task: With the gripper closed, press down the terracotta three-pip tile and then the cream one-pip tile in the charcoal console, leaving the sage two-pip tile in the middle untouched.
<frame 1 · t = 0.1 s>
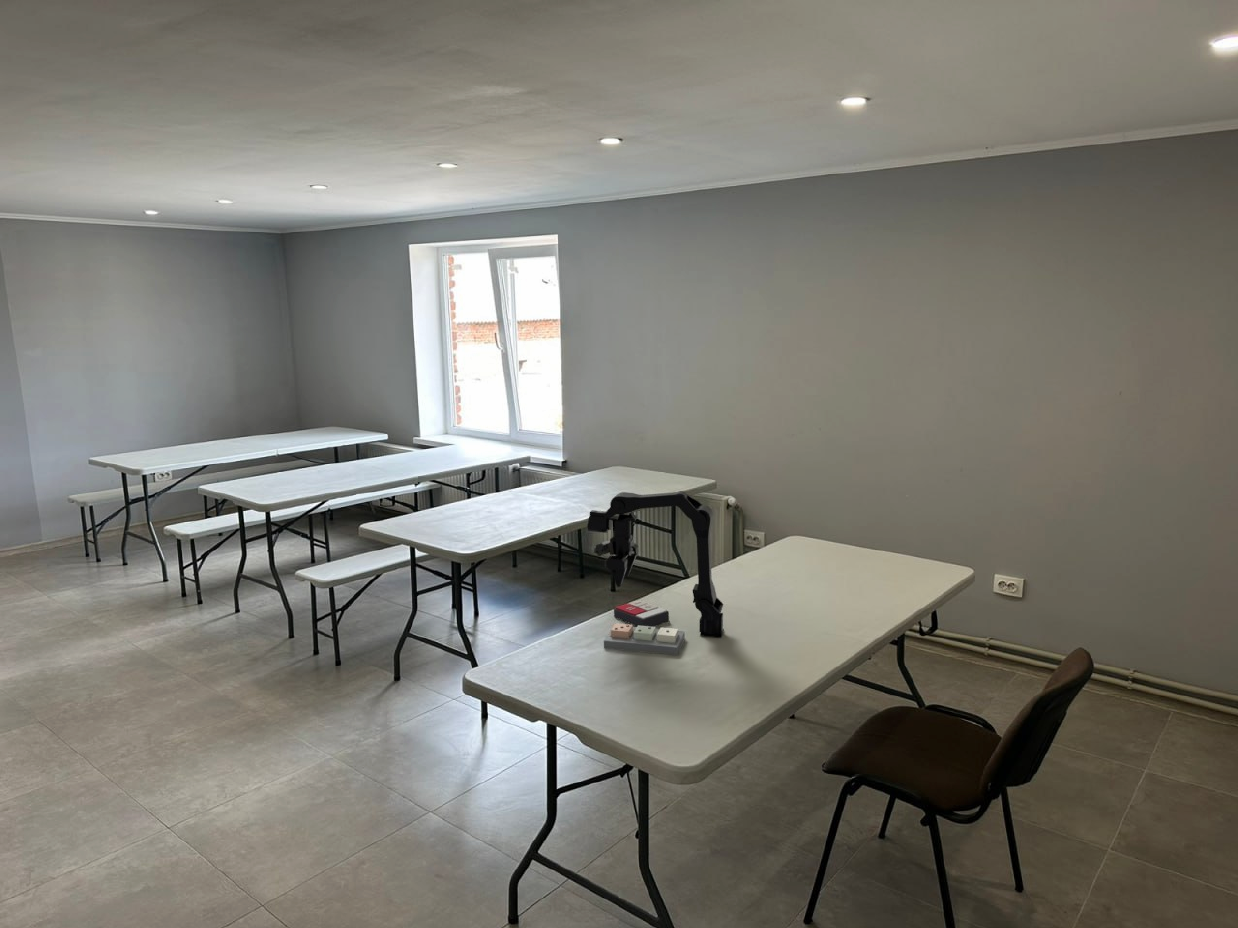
hand: (622, 581, 251), 15 cm above the table, fingers open, 9 cm apart
tile 2: (644, 633, 239), point 3 cm above the table, slide at 0.0 cm
console: (644, 643, 240), on the table
tile 1: (667, 635, 237), point 3 cm above the table, slide at 0.0 cm
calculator: (641, 620, 259), on the table
tile 3: (621, 631, 241), point 3 cm above the table, slide at 0.0 cm
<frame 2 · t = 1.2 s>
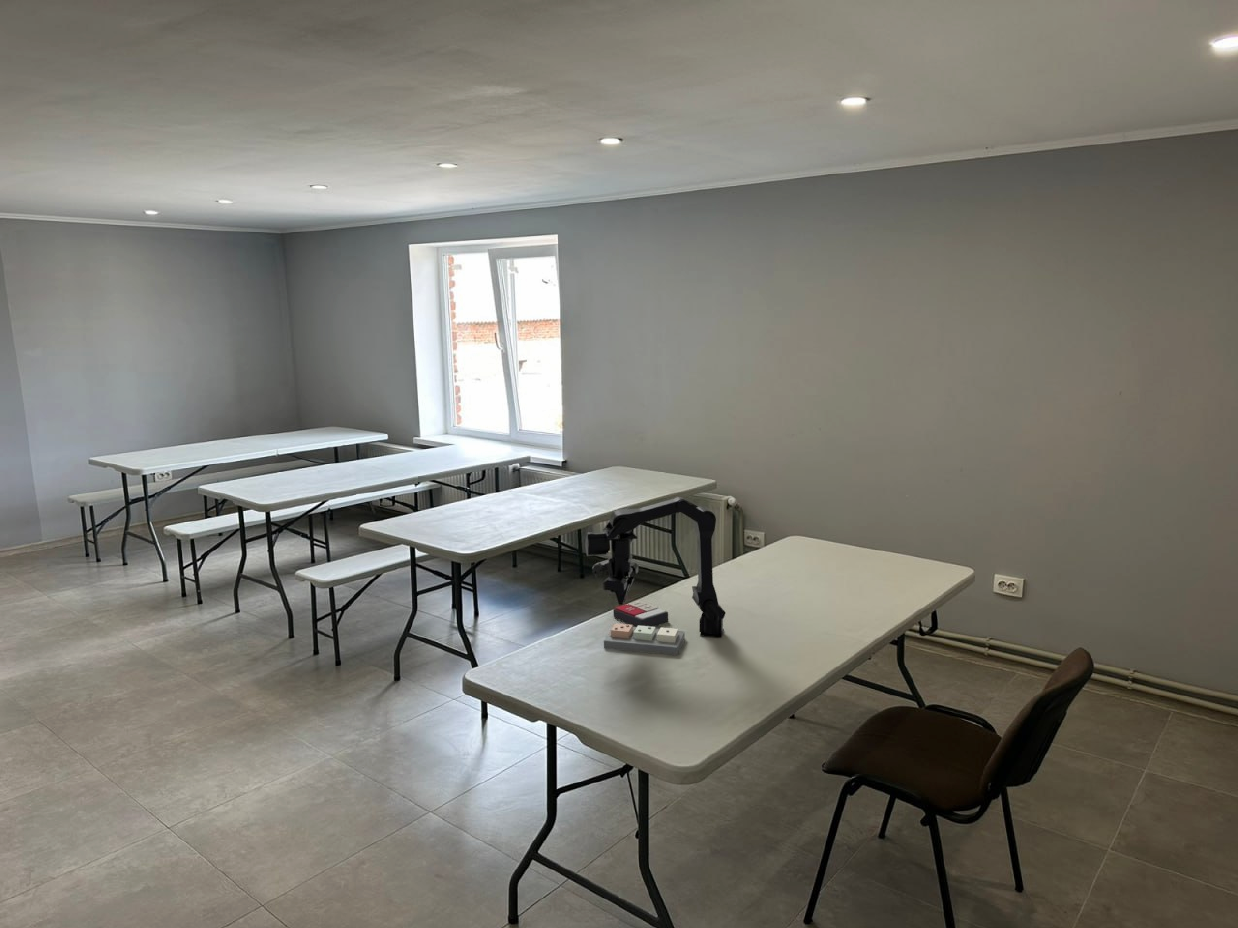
hand: (621, 603, 239), 12 cm above the table, fingers closed
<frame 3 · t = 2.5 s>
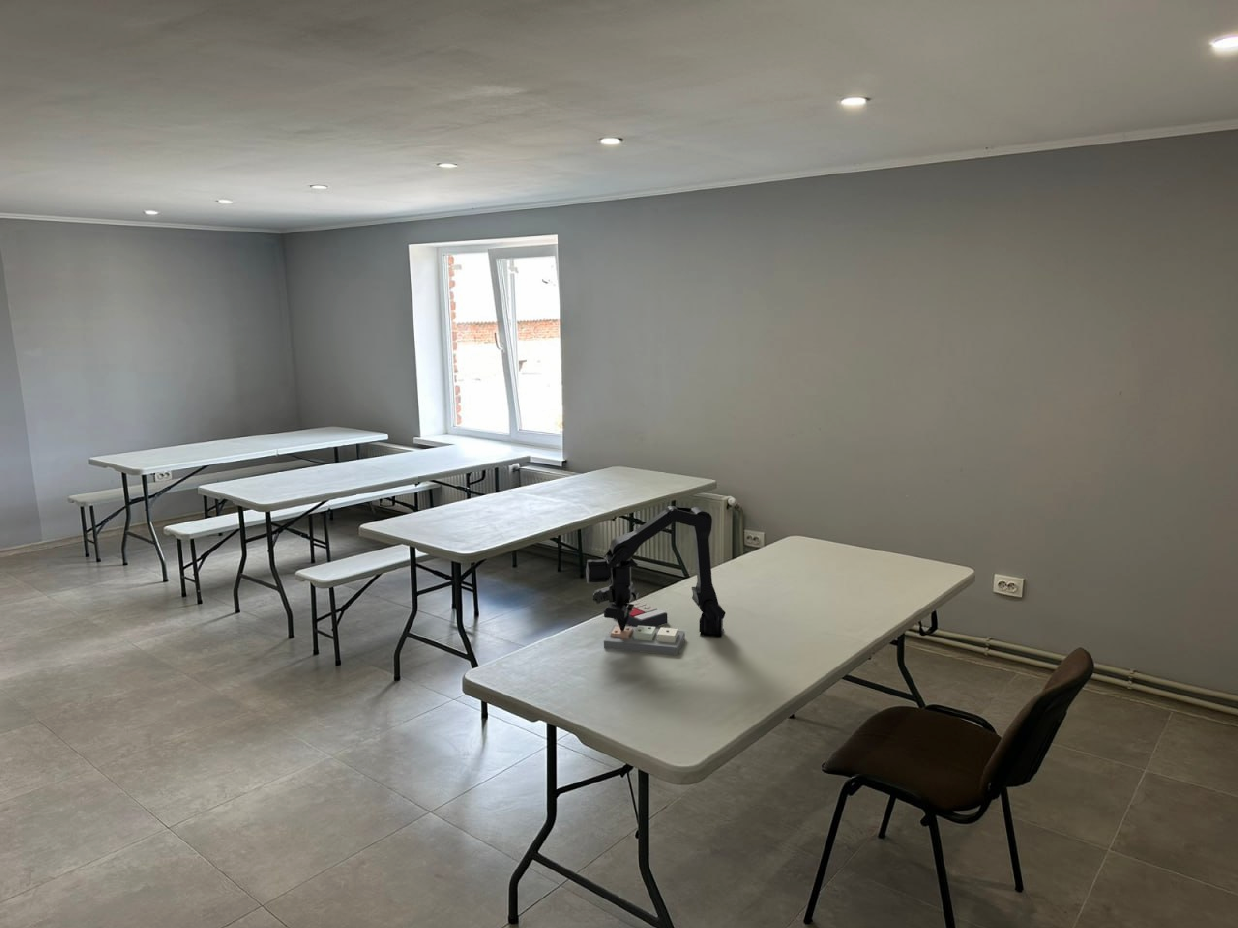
hand: (622, 629, 241), 4 cm above the table, fingers closed, pressing on tile 3
tile 3: (622, 634, 241), point 2 cm above the table, slide at 1.0 cm, touching gripper
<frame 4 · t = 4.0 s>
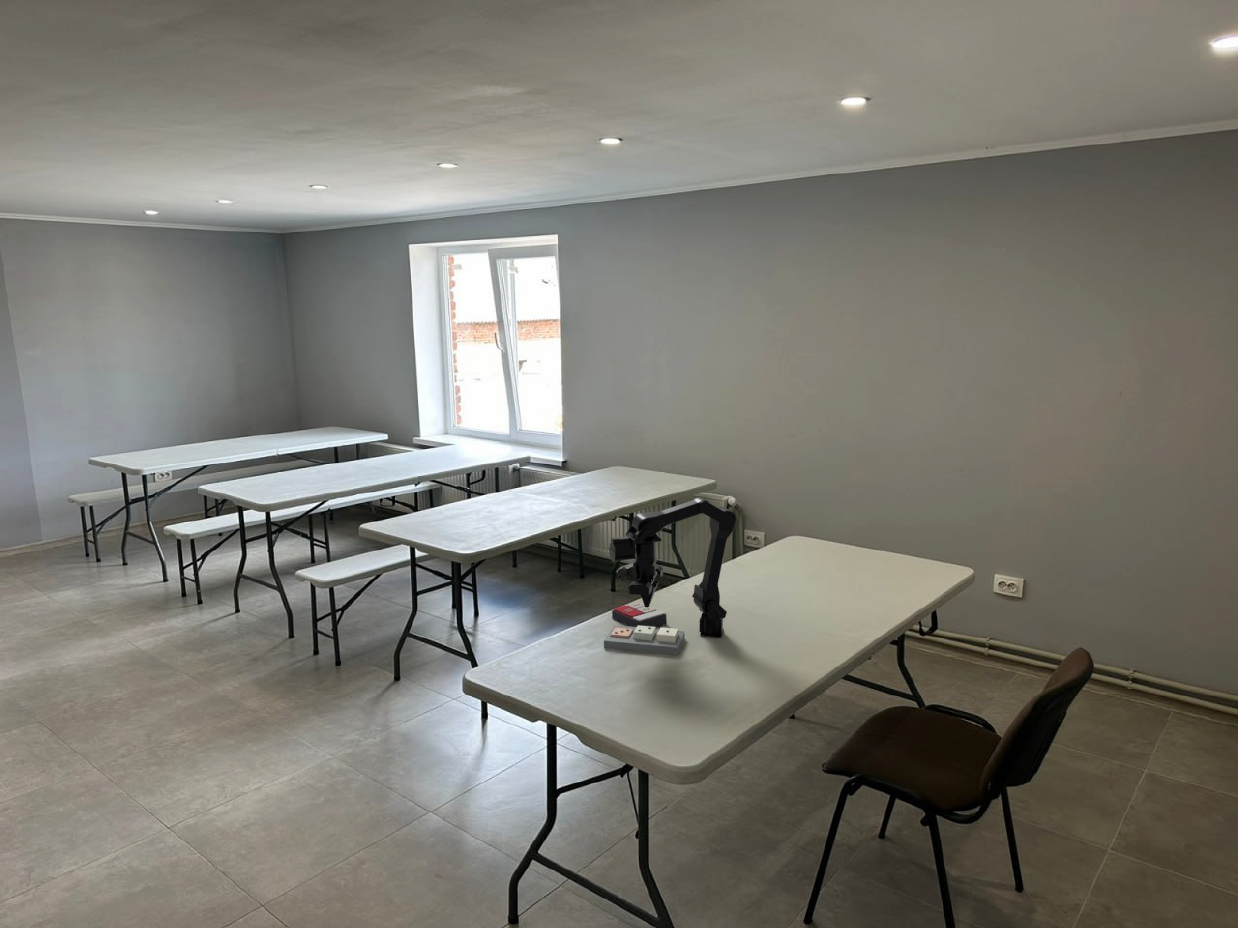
hand: (646, 606, 238), 11 cm above the table, fingers closed
tile 3: (622, 635, 241), point 2 cm above the table, slide at 1.3 cm
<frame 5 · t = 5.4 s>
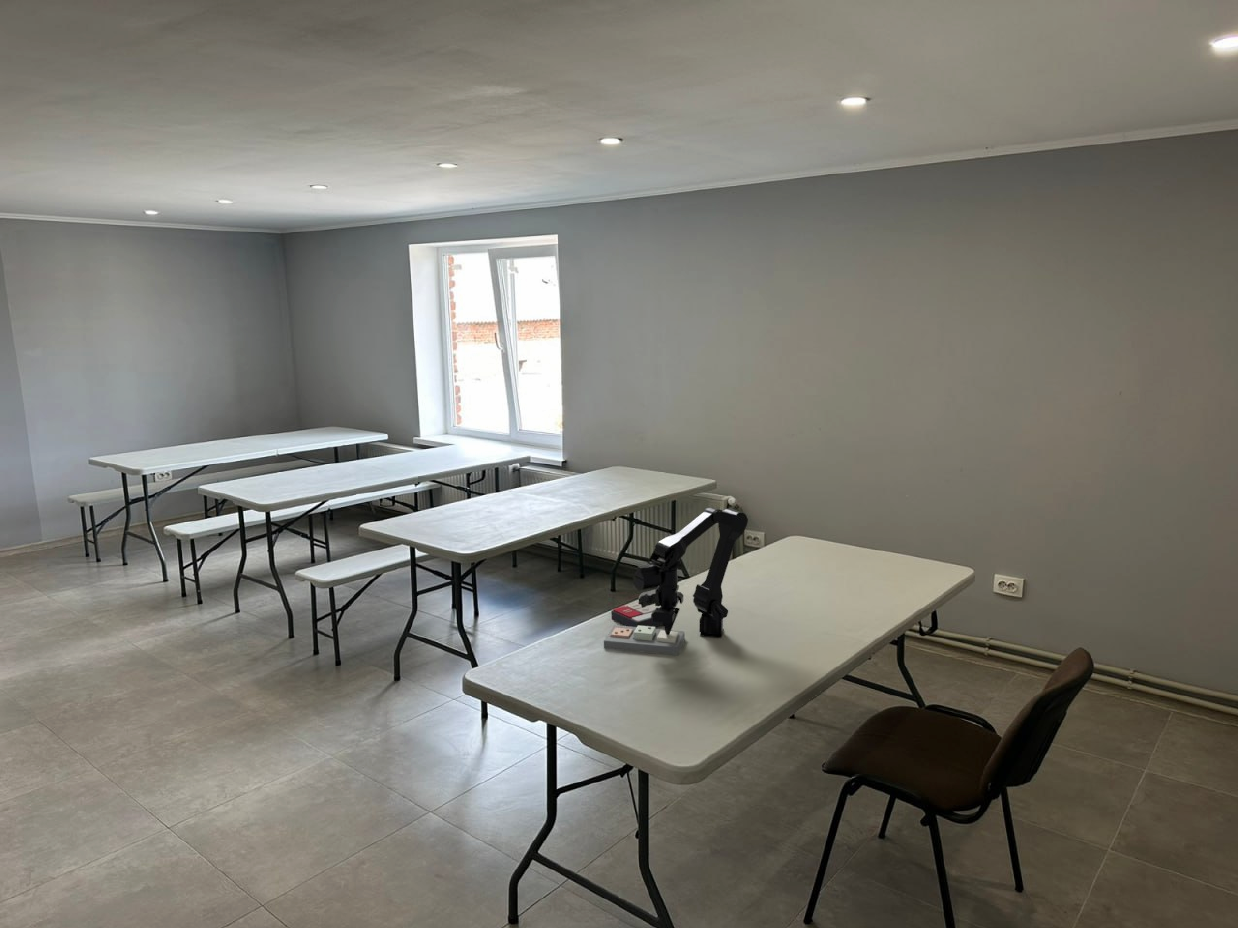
hand: (667, 633, 237), 4 cm above the table, fingers closed, pressing on tile 1
tile 1: (667, 638, 238), point 2 cm above the table, slide at 0.9 cm, touching gripper
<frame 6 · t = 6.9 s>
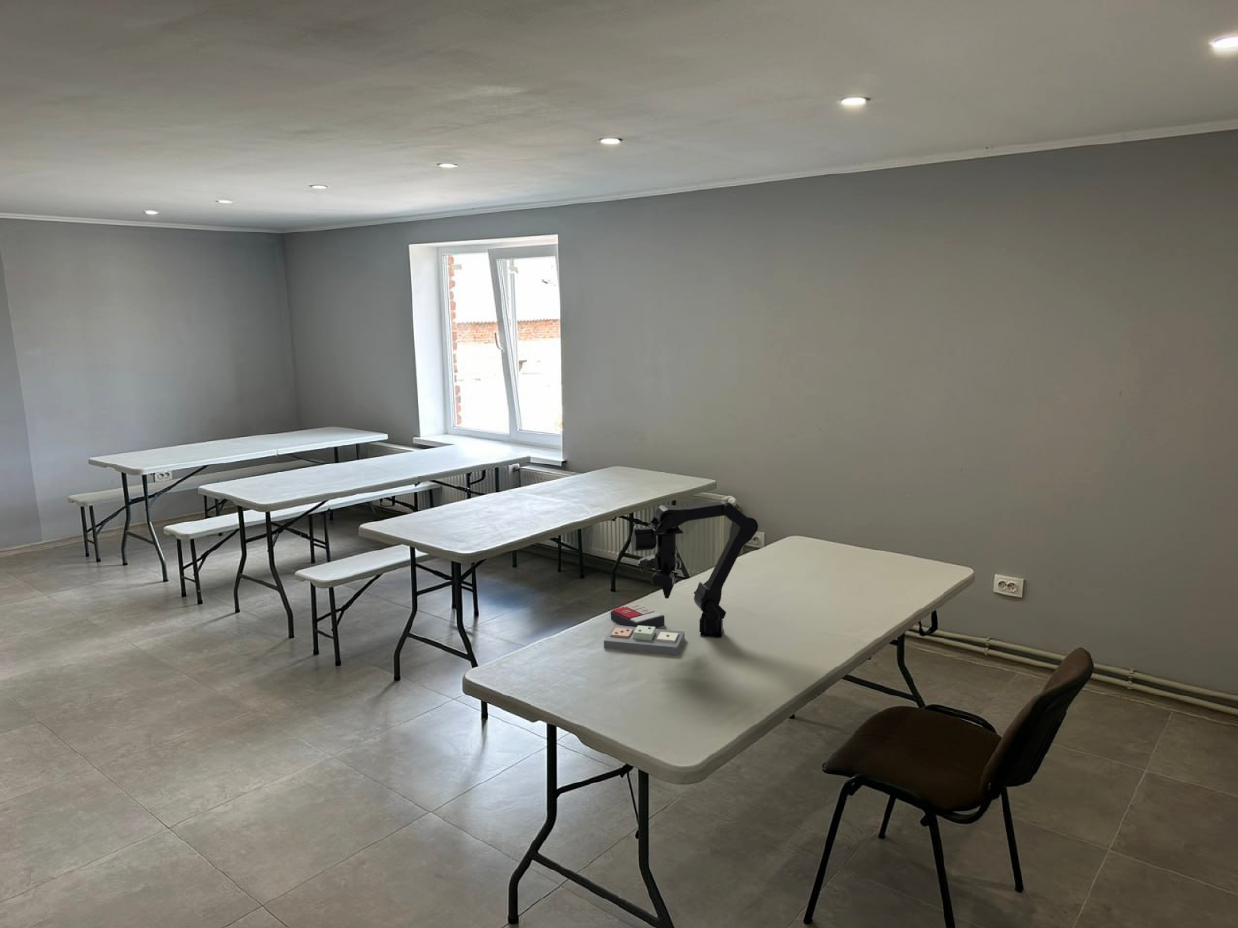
hand: (666, 598, 241), 13 cm above the table, fingers closed
tile 1: (667, 639, 238), point 2 cm above the table, slide at 1.4 cm
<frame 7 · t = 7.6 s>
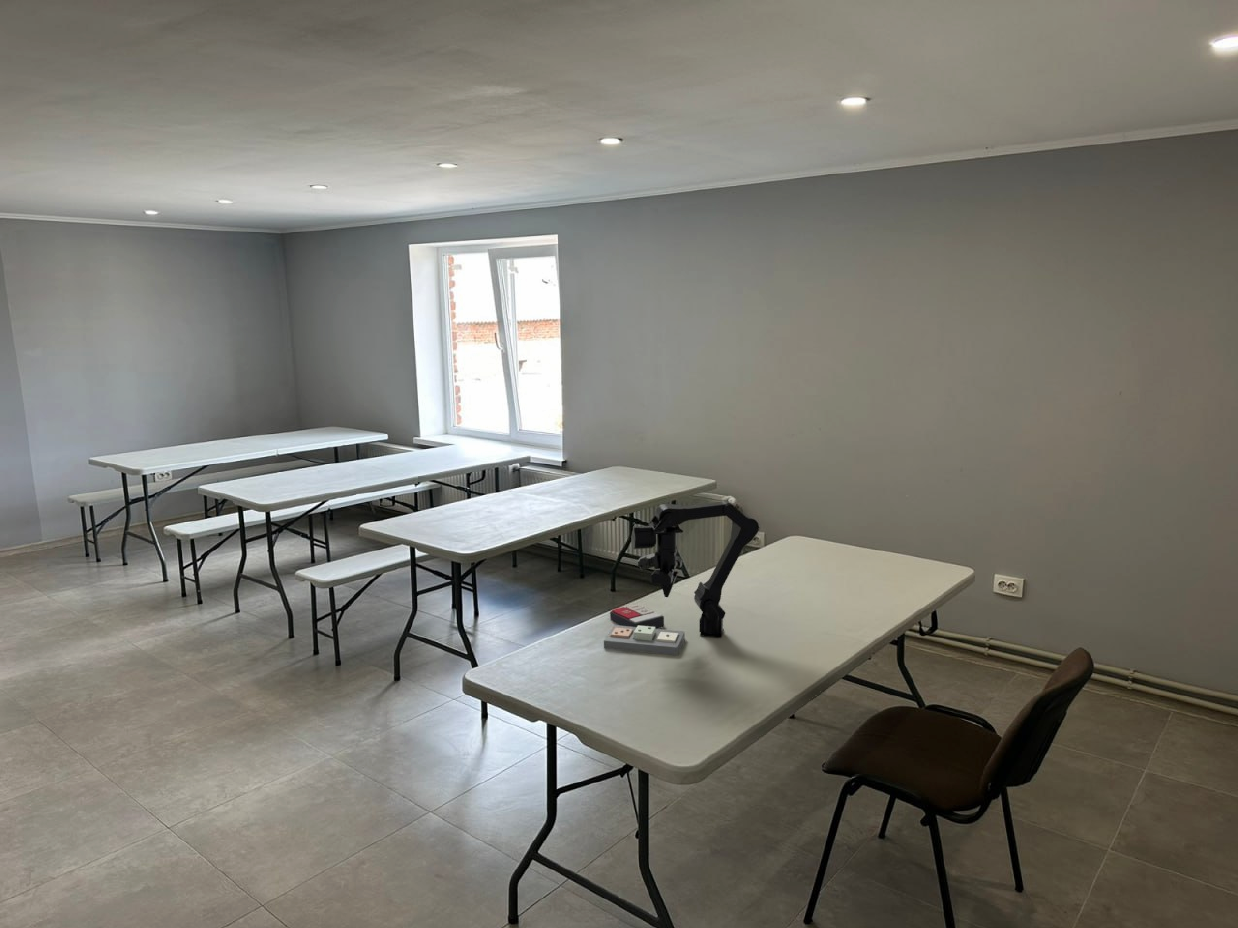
hand: (666, 596, 242), 13 cm above the table, fingers closed
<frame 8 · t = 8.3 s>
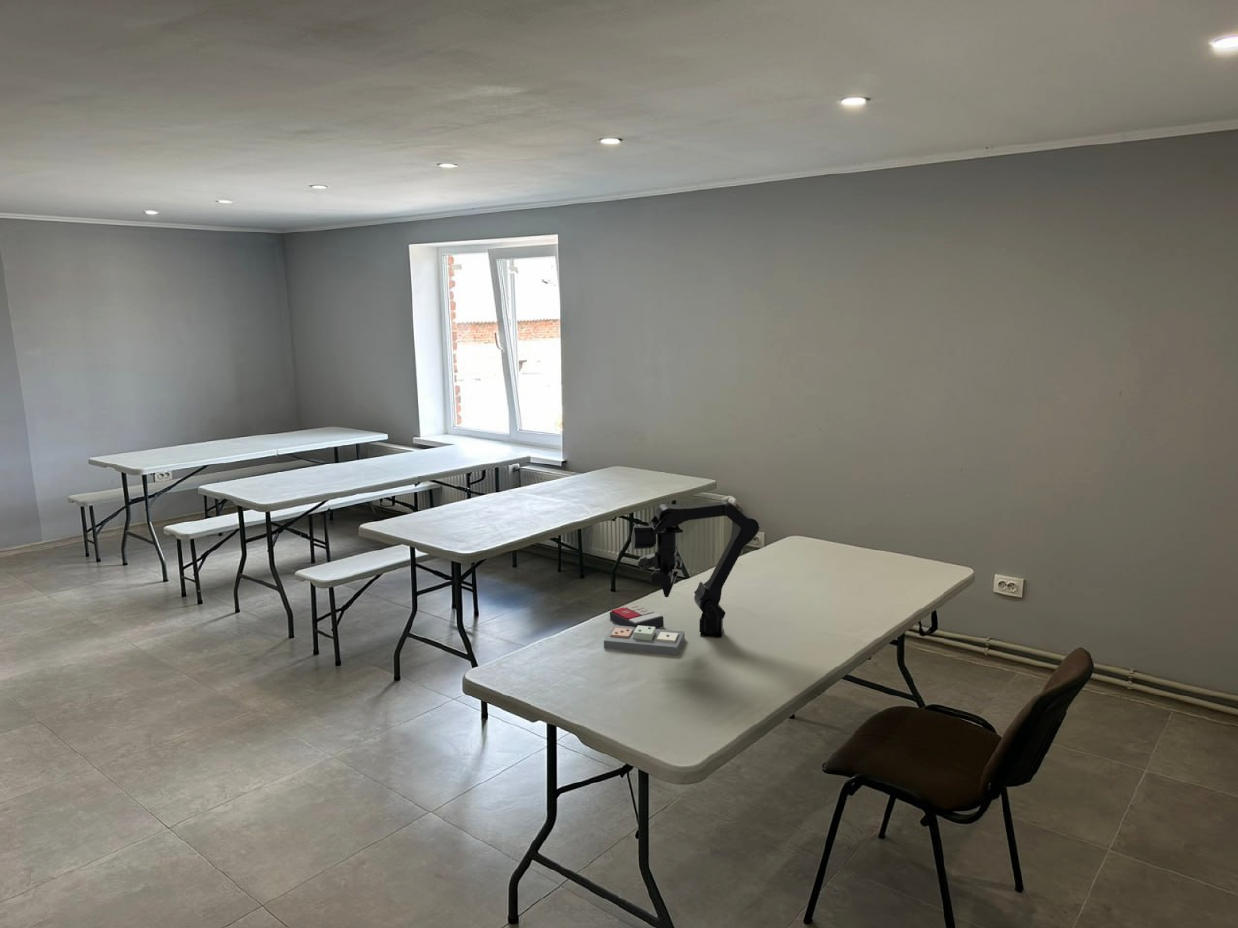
hand: (666, 596, 242), 13 cm above the table, fingers closed
at the end: tile 3 slide at 1.3 cm; tile 1 slide at 1.4 cm; tile 2 slide at 0.0 cm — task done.
